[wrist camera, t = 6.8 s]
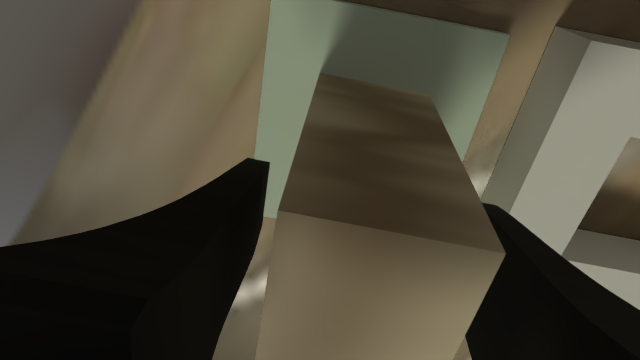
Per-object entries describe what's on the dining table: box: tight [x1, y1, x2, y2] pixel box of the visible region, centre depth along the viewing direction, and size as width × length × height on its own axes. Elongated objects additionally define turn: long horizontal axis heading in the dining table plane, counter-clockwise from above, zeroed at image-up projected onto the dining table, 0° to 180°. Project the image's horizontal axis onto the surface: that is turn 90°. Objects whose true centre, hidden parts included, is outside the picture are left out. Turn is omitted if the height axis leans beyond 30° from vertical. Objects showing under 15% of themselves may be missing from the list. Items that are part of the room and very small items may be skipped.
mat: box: [254, 0, 511, 218], centre depth 16 cm, size 8×9×1 cm
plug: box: [255, 73, 506, 360], centre depth 12 cm, size 4×4×9 cm
